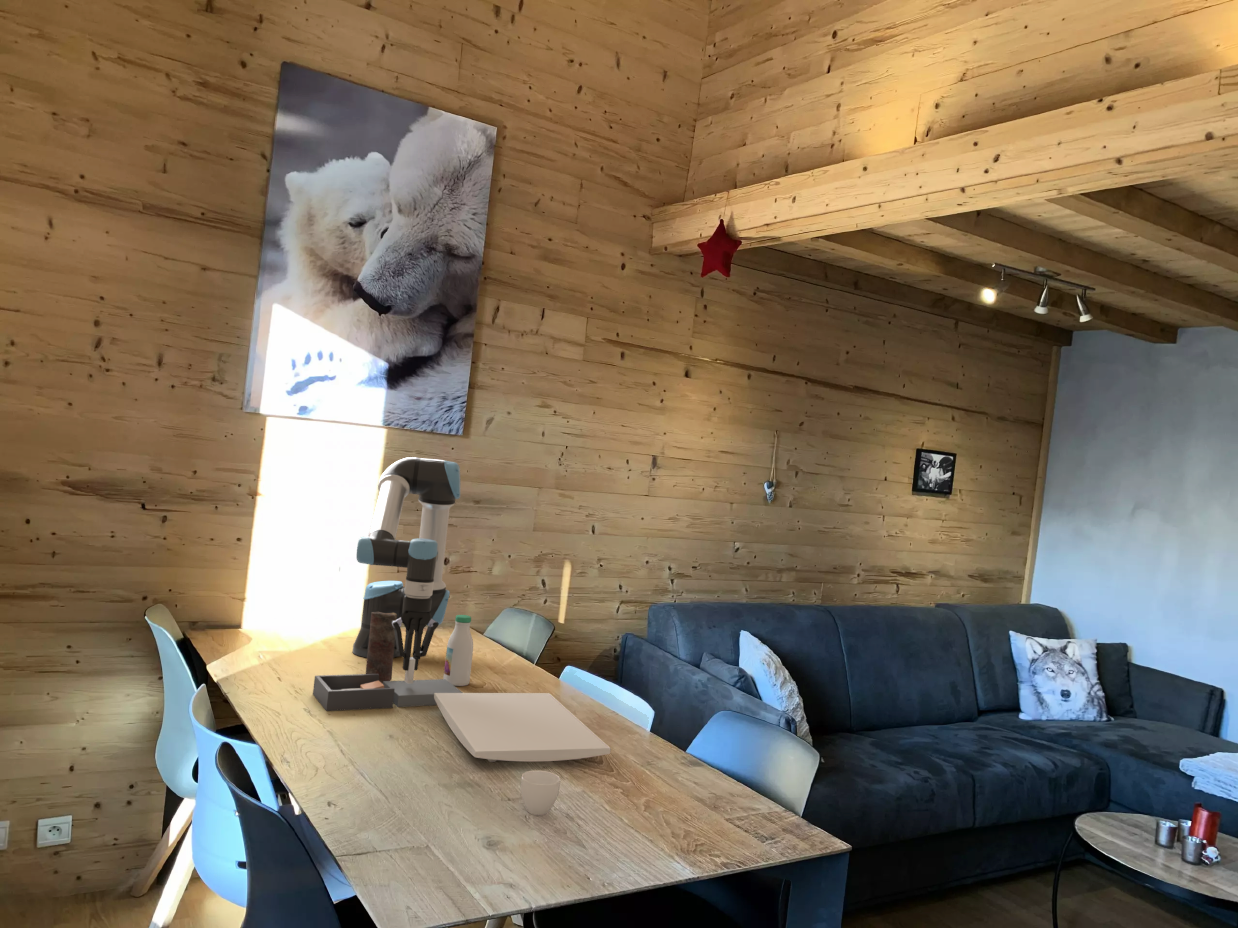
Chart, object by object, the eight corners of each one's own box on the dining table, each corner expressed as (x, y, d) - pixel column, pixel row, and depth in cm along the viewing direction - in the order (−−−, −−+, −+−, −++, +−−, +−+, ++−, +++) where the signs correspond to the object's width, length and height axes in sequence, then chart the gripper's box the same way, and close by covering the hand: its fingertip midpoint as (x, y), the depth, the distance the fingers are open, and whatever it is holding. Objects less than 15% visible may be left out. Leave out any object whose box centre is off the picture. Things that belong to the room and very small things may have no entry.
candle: (358, 680, 257) (366, 611, 257) (374, 676, 264) (382, 608, 263) (380, 686, 254) (388, 615, 254) (396, 681, 261) (403, 612, 261)
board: (432, 710, 238) (434, 692, 238) (547, 709, 250) (549, 692, 250) (473, 772, 196) (475, 751, 196) (608, 768, 209) (610, 748, 209)
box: (312, 694, 239) (314, 675, 239) (376, 691, 248) (378, 673, 248) (326, 710, 226) (328, 691, 226) (392, 707, 235) (394, 688, 235)
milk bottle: (472, 681, 269) (479, 615, 269) (465, 688, 262) (472, 619, 262) (447, 678, 270) (454, 612, 270) (439, 684, 262) (447, 616, 262)
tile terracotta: (360, 692, 241) (360, 684, 241) (379, 687, 243) (378, 680, 243) (366, 697, 237) (365, 690, 236) (384, 692, 239) (384, 685, 239)
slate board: (382, 691, 248) (383, 681, 248) (444, 689, 258) (445, 678, 258) (397, 706, 236) (398, 695, 236) (461, 703, 246) (463, 692, 246)
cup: (530, 821, 173) (534, 786, 173) (505, 801, 182) (509, 768, 181) (564, 815, 178) (567, 781, 178) (538, 796, 186) (541, 764, 186)
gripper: (398, 598, 238) (389, 686, 238) (445, 598, 245) (436, 684, 245) (390, 592, 245) (381, 678, 245) (436, 593, 251) (427, 677, 252)
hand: (408, 681), depth 245 cm, fingers closed
